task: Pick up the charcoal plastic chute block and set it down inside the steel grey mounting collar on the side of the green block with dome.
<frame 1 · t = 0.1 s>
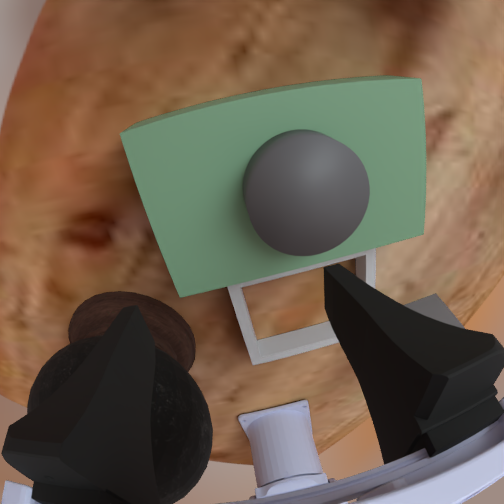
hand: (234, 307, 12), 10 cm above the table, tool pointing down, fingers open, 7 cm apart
green block with dome: (303, 294, 25), on the table
chute block: (404, 319, 29), on the table
black ball on stand: (131, 341, 26), on the table
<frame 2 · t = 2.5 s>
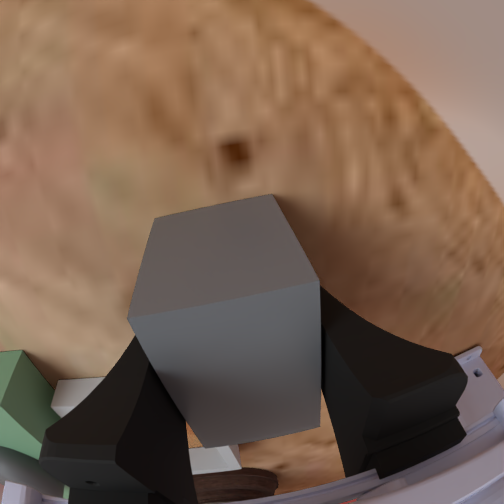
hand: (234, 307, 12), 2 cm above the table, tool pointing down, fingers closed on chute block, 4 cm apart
green block with dome: (156, 422, 18), on the table
chute block: (230, 282, 13), on the table, touching gripper
black ball on stand: (222, 484, 26), on the table
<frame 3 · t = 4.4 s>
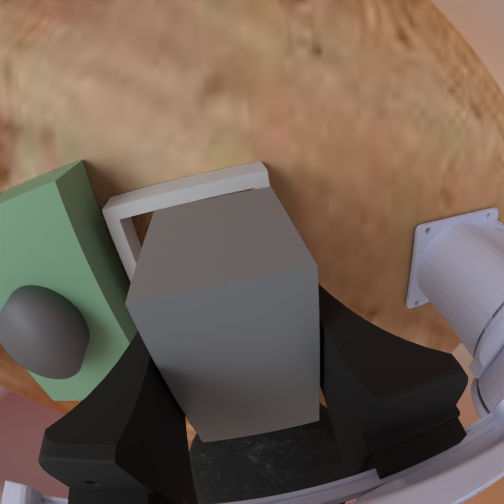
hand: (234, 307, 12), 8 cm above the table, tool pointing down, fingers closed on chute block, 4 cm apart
green block with dome: (204, 256, 20), on the table
chute block: (229, 275, 13), point 7 cm above the table, touching gripper
black ball on stand: (256, 386, 28), on the table
when the fingers open (3 cm above the table, at t = 6.1 s): chute block drops 1 cm, resting in green block with dome.
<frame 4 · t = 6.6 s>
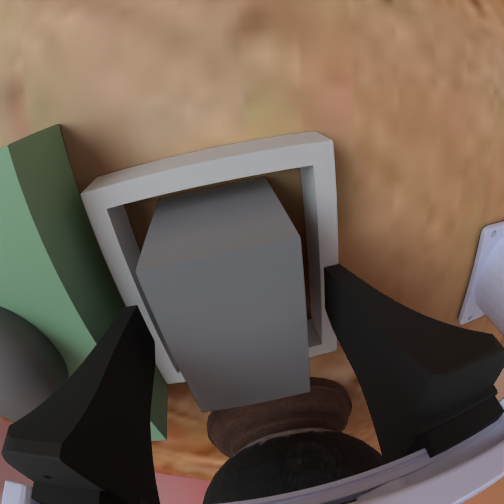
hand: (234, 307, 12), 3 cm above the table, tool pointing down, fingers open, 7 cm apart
green block with dome: (227, 263, 15), on the table
chute block: (227, 258, 15), resting in green block with dome
black ball on stand: (279, 418, 23), on the table
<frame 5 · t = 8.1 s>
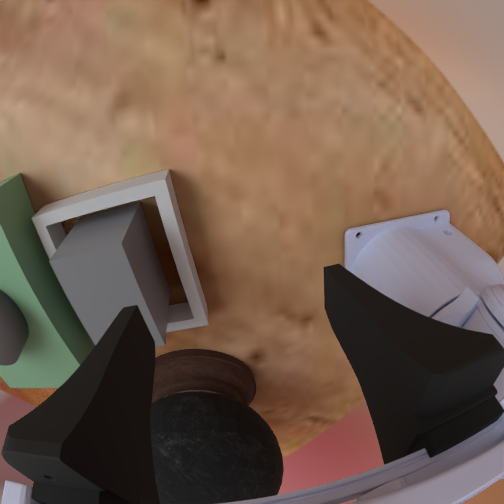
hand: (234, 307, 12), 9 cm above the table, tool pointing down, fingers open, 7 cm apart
green block with dome: (126, 259, 21), on the table
chute block: (126, 255, 21), resting in green block with dome
black ball on stand: (196, 386, 29), on the table
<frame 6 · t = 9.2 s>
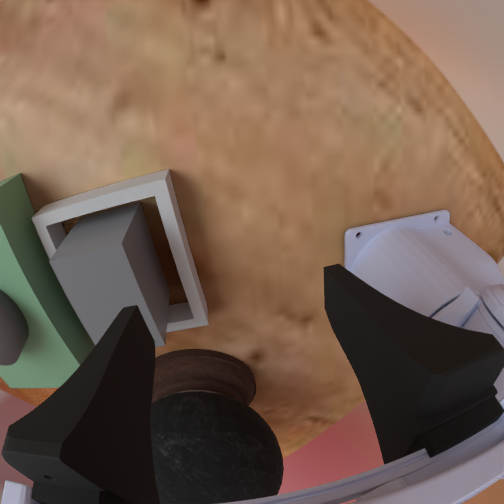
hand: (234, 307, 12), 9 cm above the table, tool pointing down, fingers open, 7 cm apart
green block with dome: (126, 259, 21), on the table
chute block: (126, 255, 21), resting in green block with dome
black ball on stand: (196, 386, 29), on the table
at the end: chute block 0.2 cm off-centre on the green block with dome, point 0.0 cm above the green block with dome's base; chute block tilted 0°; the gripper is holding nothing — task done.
